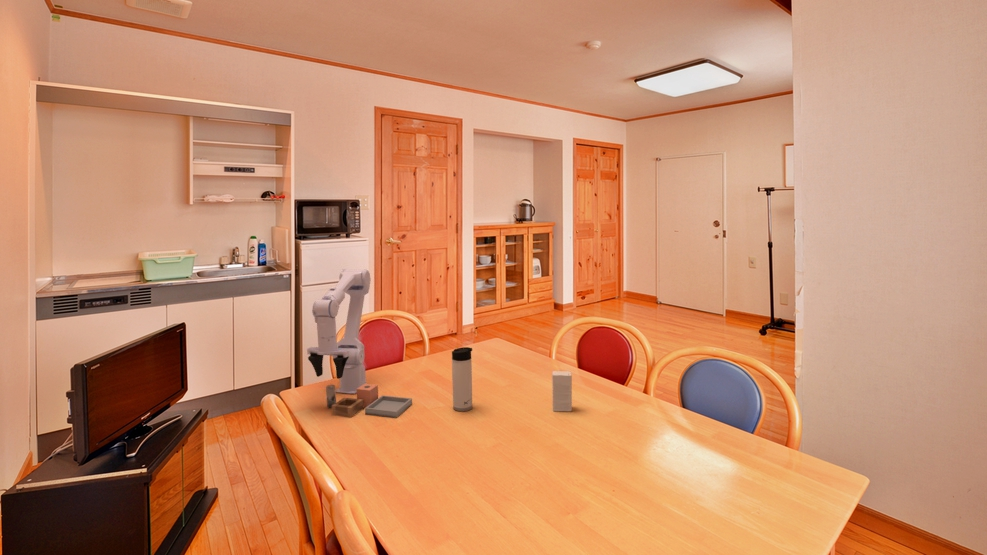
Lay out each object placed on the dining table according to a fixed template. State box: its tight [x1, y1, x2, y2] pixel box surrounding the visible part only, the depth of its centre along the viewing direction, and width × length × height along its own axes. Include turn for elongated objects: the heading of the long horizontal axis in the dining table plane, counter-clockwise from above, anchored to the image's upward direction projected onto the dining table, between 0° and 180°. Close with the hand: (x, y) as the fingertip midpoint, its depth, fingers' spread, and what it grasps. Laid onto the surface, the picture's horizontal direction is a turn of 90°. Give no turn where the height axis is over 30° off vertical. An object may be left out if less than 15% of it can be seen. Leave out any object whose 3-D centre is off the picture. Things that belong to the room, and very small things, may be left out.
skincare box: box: [551, 370, 573, 412], centre depth 152 cm, size 6×4×12 cm
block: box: [356, 383, 379, 408], centre depth 159 cm, size 5×5×6 cm
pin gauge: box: [325, 384, 337, 409], centre depth 157 cm, size 3×3×7 cm
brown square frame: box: [331, 397, 365, 418], centre depth 153 cm, size 7×7×3 cm
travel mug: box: [451, 346, 473, 412], centre depth 154 cm, size 6×7×20 cm
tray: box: [364, 394, 413, 419], centre depth 155 cm, size 11×11×2 cm
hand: (329, 376), depth 156 cm, fingers open, 7 cm apart
